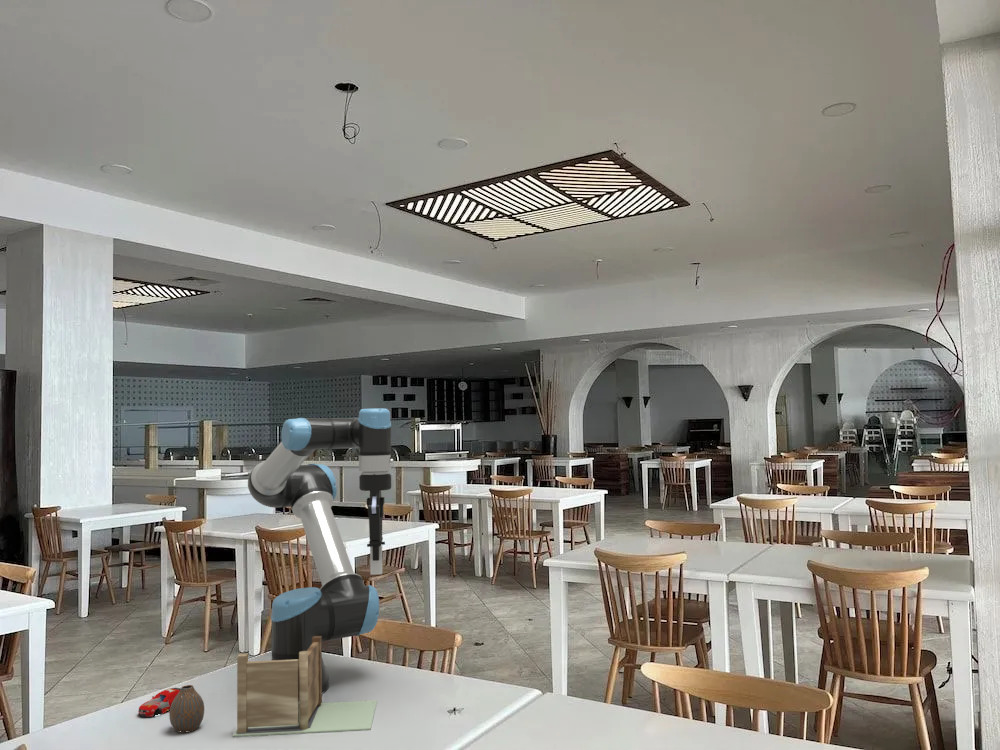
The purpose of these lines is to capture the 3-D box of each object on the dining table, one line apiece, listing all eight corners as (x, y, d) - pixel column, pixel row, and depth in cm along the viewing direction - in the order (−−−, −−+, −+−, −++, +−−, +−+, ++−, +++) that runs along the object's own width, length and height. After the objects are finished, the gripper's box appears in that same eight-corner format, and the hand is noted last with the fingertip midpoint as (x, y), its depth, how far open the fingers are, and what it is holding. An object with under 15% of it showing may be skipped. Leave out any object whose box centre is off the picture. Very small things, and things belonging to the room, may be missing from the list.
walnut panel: (309, 724, 165) (309, 652, 166) (300, 724, 165) (300, 652, 166) (322, 702, 178) (321, 635, 179) (314, 702, 178) (313, 636, 179)
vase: (183, 737, 161) (183, 694, 162) (162, 731, 165) (162, 688, 165) (211, 726, 167) (211, 684, 168) (190, 720, 171) (190, 679, 171)
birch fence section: (239, 730, 164) (239, 653, 165) (308, 726, 165) (308, 650, 166) (237, 733, 162) (237, 656, 163) (307, 729, 163) (307, 653, 164)
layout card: (252, 707, 178) (252, 706, 178) (376, 701, 180) (376, 699, 180) (232, 737, 161) (232, 735, 161) (370, 729, 163) (370, 727, 163)
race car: (148, 721, 172) (148, 703, 172) (132, 717, 174) (132, 699, 174) (198, 702, 183) (198, 684, 183) (182, 698, 186) (182, 681, 186)
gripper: (389, 474, 180) (390, 578, 179) (392, 471, 193) (394, 568, 192) (356, 475, 180) (357, 579, 178) (362, 472, 193) (363, 569, 191)
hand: (376, 573), depth 185 cm, fingers closed
